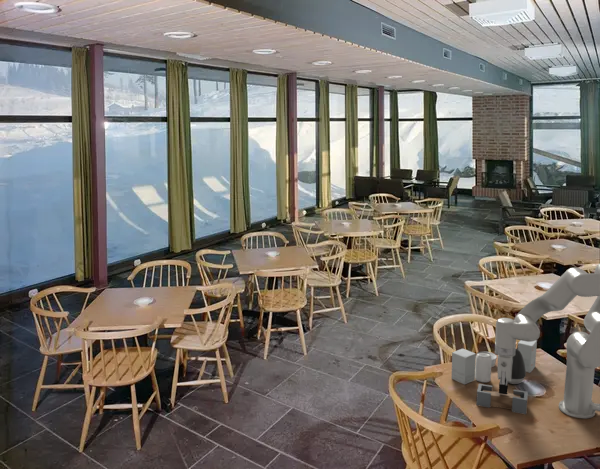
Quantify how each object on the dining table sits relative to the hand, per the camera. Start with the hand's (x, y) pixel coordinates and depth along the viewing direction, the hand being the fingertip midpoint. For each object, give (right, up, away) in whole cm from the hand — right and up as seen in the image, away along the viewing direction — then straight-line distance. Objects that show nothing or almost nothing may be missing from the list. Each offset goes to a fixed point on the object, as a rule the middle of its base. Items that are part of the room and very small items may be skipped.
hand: (503, 392), depth 208 cm
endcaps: (0, -5, +1) cm, 6 cm away
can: (0, -1, +23) cm, 23 cm away
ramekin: (+7, +2, +38) cm, 39 cm away
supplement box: (-9, -1, +23) cm, 25 cm away
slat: (0, -6, +1) cm, 6 cm away
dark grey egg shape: (+12, -1, +21) cm, 24 cm away
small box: (+23, +1, +33) cm, 40 cm away
